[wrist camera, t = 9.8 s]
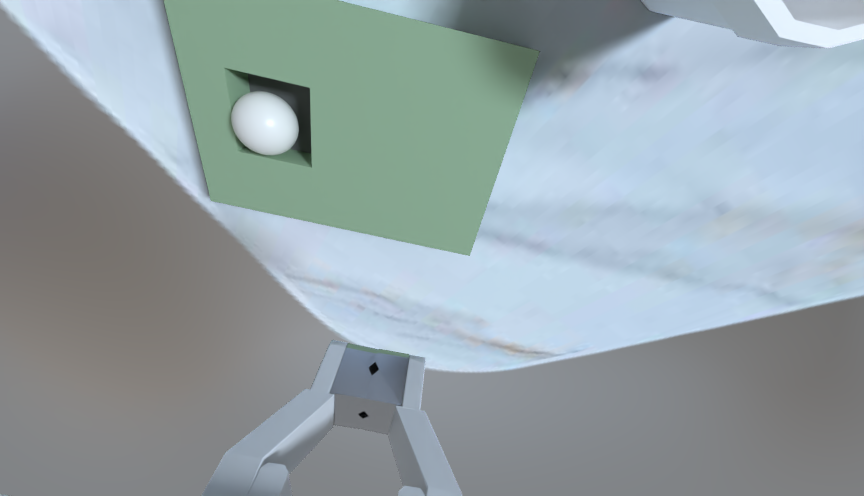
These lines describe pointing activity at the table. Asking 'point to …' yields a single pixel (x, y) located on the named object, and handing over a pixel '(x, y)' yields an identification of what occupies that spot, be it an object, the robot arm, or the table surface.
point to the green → (353, 114)
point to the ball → (264, 123)
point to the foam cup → (775, 19)
